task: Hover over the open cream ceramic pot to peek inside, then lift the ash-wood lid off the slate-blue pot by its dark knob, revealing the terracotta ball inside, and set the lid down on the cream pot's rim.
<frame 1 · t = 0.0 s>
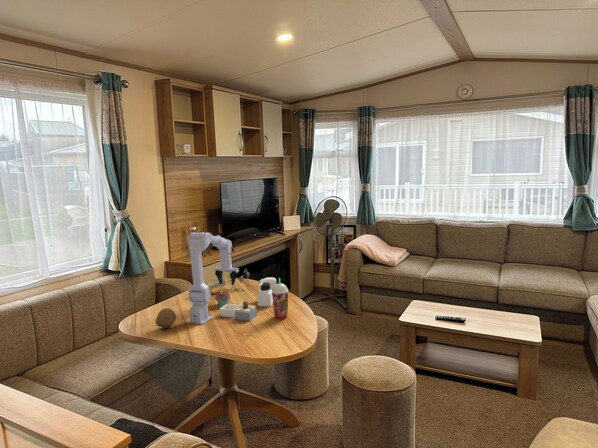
hand: (227, 284, 230), 10 cm above the table, fingers open, 7 cm apart
smoothie: (281, 317, 205), on the table
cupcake: (223, 305, 226), on the table
medicine bottle: (265, 304, 224), on the table
natural sponge: (167, 329, 195), on the table
cream pot: (230, 314, 211), on the table
slate pot: (246, 317, 206), on the table
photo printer: (268, 299, 233), on the table
lid: (245, 309, 205), point 4 cm above the table, touching slate pot
terracotta ball: (246, 313, 205), point 2 cm above the table, touching slate pot
flower vase: (222, 292, 249), on the table
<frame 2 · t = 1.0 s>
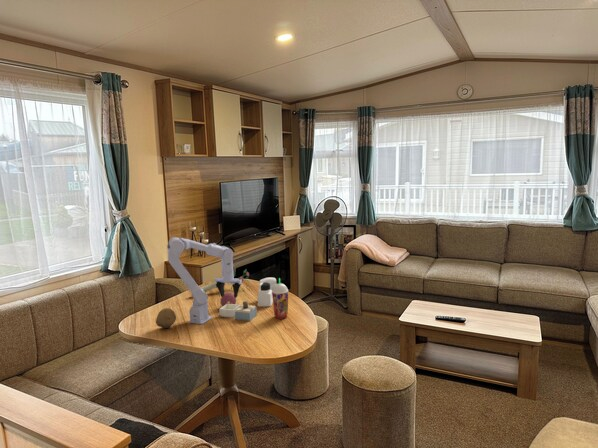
hand: (229, 296, 210), 9 cm above the table, fingers open, 7 cm apart
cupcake: (226, 301, 224), point 3 cm above the table
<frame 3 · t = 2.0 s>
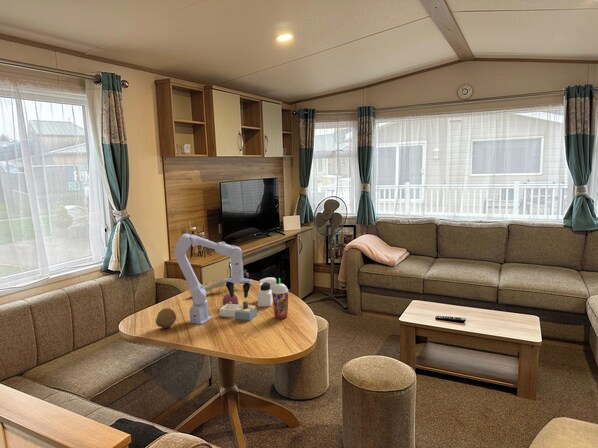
hand: (239, 296, 206), 10 cm above the table, fingers open, 7 cm apart
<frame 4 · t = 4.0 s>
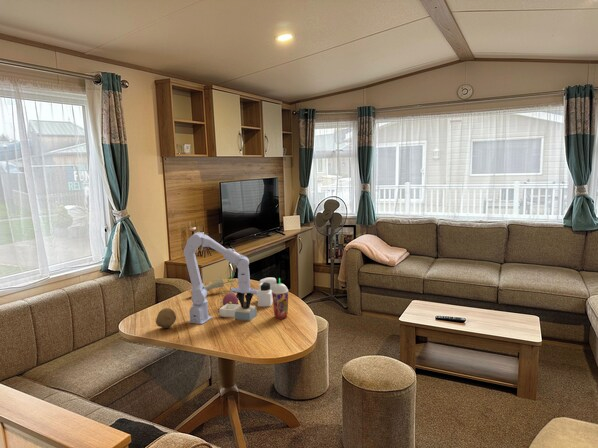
hand: (245, 307, 205), 5 cm above the table, fingers closed on lid, 2 cm apart
lid: (245, 309, 205), point 4 cm above the table, touching gripper, slate pot
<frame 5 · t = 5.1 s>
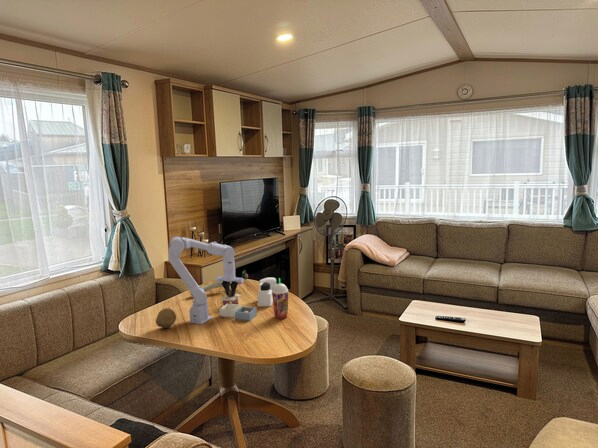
hand: (230, 295, 209), 10 cm above the table, fingers closed on lid, 2 cm apart
lid: (231, 298, 209), point 9 cm above the table, touching gripper
when the fingers open (6 cm above the table, at t = 6.2 s): lid stays where it is, resting on cream pot, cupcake.
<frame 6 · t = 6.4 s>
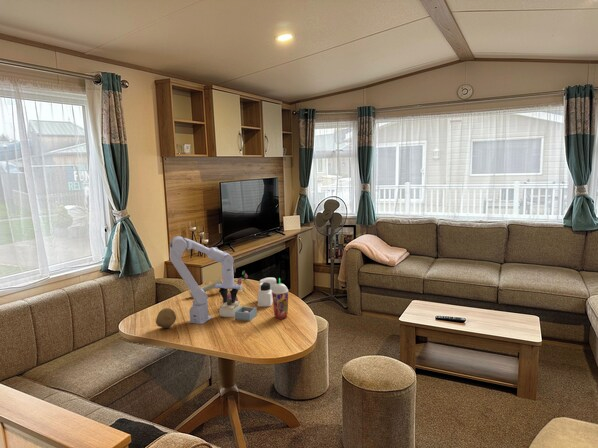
hand: (229, 302, 210), 6 cm above the table, fingers open, 4 cm apart
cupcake: (227, 300, 224), point 3 cm above the table, touching lid
lid: (229, 305, 210), point 5 cm above the table, tilted 9°, touching cream pot, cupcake
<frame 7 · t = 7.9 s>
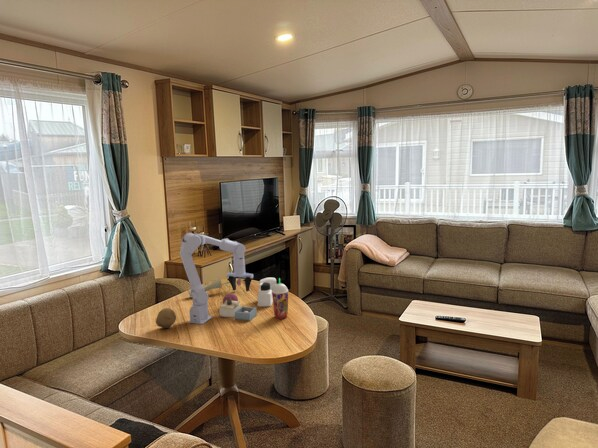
hand: (241, 290, 215), 11 cm above the table, fingers open, 7 cm apart
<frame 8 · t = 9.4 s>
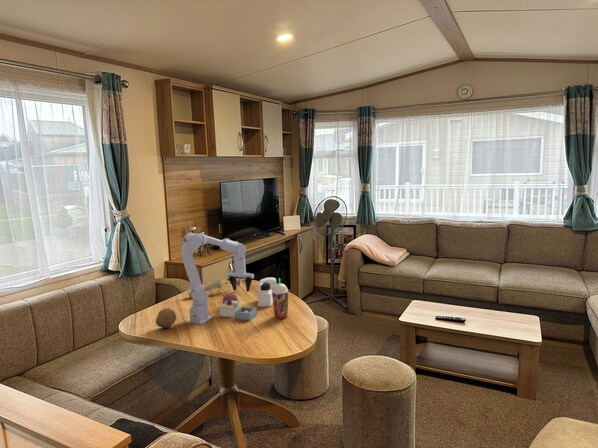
hand: (241, 290, 216), 10 cm above the table, fingers open, 7 cm apart
at the end: lid 0.1 cm off-centre on the cream pot, point 4.6 cm above the cream pot's base; lid touching cream pot, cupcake; the gripper is holding nothing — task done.
